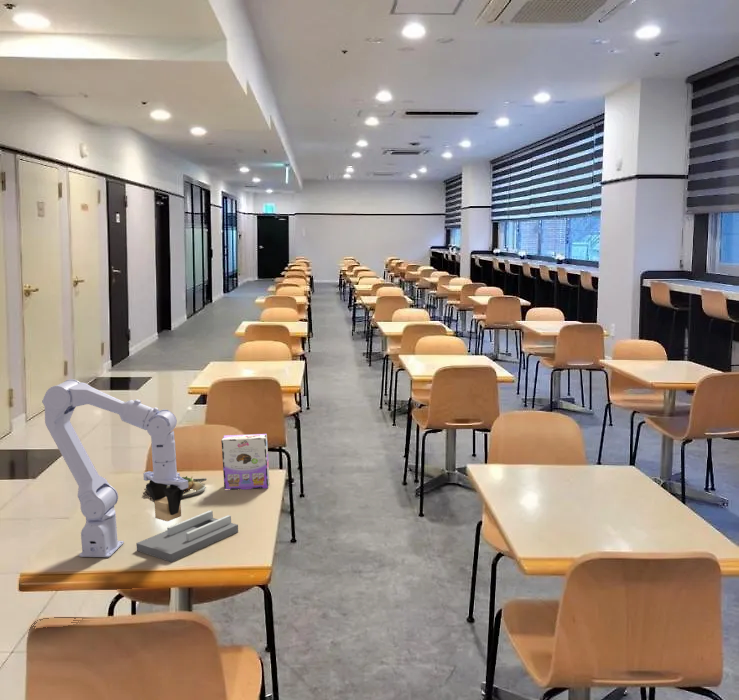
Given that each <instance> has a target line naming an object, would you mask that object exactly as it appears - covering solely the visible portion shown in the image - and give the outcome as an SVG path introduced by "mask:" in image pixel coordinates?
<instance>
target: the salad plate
mask: <svg viewBox="0 0 739 700" xmlns="http://www.w3.org/2000/svg"><path fill="white" fill-rule="evenodd" d="M181 477H182V478H183V479H185V480H188V488H186V490H185V491H186V492H188V491H187V490H189V491H191V490H190V489H193V490H192V491H193V492H191V493H185V492H184V493H185V494H184V493H183V496H182V498H181V500H182V499H185V498H188V497H189V496H190V497H193V496H197V495H198V494H200V493H202V492H204V491H205V490H206V489H207V486H206V485H205V484H203V482H205V481H207V478H206V477H205V478H204V477H203V478H193V476H190V477H188V475H187V476H181ZM147 484H150V481H149V482H148V483H146V485H147ZM169 487H170V485H167V487H166V488H169ZM195 490H196V492H195ZM144 491H145V492H146V494H147V495H148V496H149V498H151V497H152V496H151V494H150V493H149V491H148V490H147V488H146V487H145V490H144ZM165 497H166V494H165ZM190 497H189V498H190Z"/></svg>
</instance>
